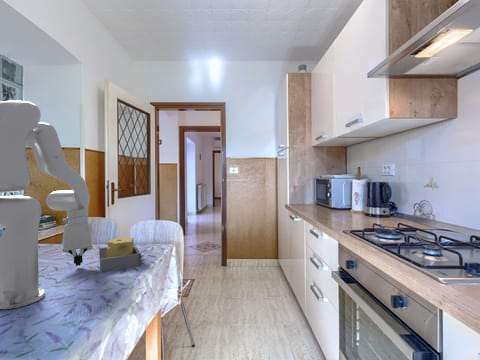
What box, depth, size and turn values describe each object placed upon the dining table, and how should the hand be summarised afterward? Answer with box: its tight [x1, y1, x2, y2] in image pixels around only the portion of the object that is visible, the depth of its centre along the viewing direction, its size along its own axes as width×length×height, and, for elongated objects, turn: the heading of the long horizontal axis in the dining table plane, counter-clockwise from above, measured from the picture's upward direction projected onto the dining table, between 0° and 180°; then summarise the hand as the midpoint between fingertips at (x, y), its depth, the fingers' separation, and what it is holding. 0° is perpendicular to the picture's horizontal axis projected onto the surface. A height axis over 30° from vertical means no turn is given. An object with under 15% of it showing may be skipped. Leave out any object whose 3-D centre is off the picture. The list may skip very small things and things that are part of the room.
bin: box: [98, 243, 142, 273], centre depth 119 cm, size 20×15×5 cm
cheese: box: [106, 237, 135, 258], centre depth 119 cm, size 10×11×10 cm
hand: (78, 264), depth 112 cm, fingers closed
